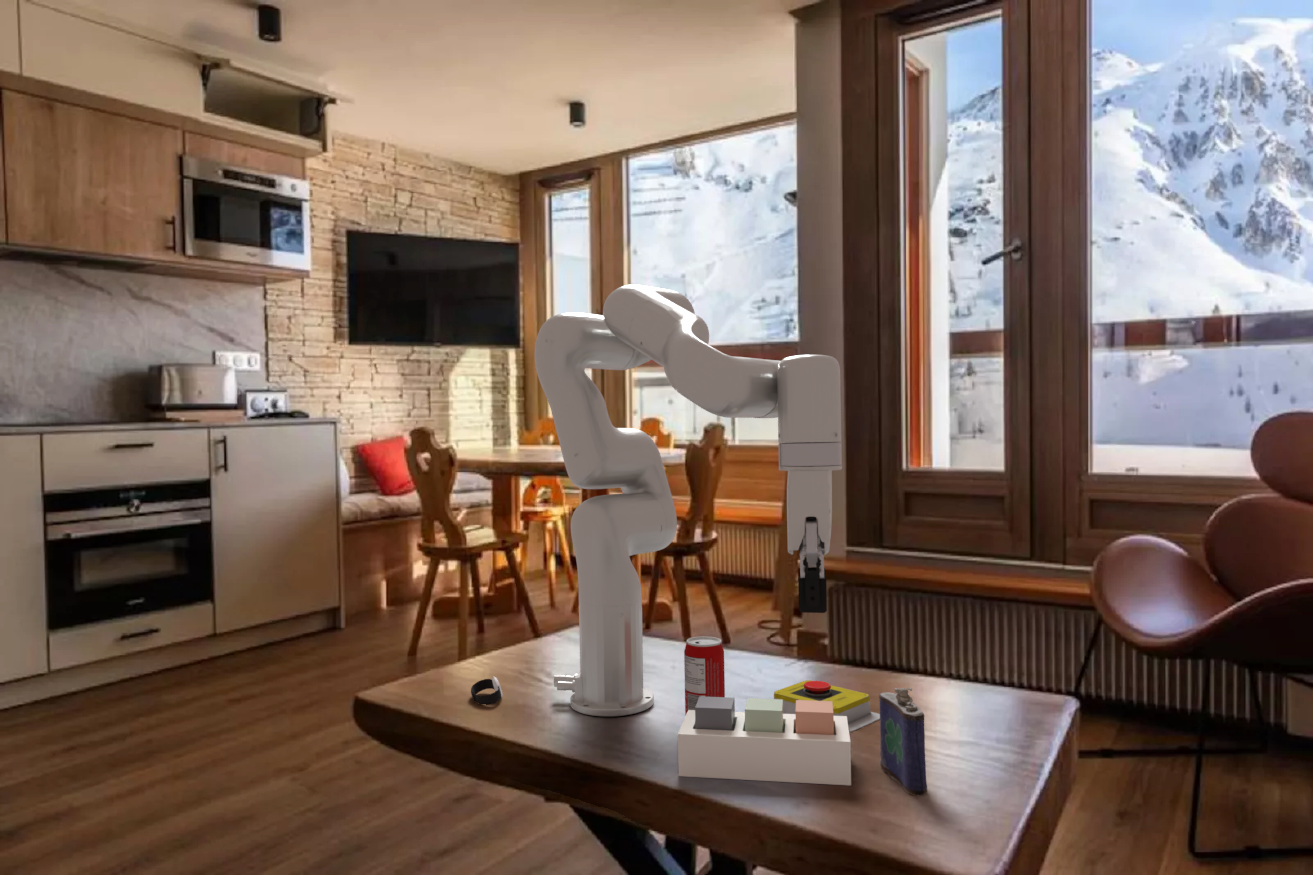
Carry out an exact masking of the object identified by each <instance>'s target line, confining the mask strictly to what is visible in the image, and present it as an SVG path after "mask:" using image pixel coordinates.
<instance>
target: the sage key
mask: <svg viewBox="0 0 1313 875" xmlns="http://www.w3.org/2000/svg"><path fill="white" fill-rule="evenodd" d="M744 712H745V731H753V732H776V733H783V699H774V698H753V697H751V698H750V697H747V699H746V703H745V707H744Z"/></svg>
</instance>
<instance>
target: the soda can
mask: <svg viewBox="0 0 1313 875" xmlns="http://www.w3.org/2000/svg"><path fill="white" fill-rule="evenodd" d="M683 652H684V654H683V655H684V656H683V657H684V658H683V659H684V660H683V662H684V707H685V708H684V709H685V710H684V713H685V716H686V714H687V712H688V710H695V706H696V704H697V702H698V699H699V697H700V696H702V697H726V690H725V689H726V688H725V686H726V685H725V680H726V678H725V651H724V647H723V643H722V639H721V638H719V637H714V636H694V637H688V638H687V639H686V644H685V646H684V651H683Z"/></svg>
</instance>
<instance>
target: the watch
mask: <svg viewBox="0 0 1313 875" xmlns="http://www.w3.org/2000/svg"><path fill="white" fill-rule="evenodd" d="M488 689H493V690H494V692H492V693H489V694H486V695H479V693H480V692H482V691H484V690H488ZM503 694H504V693H503V690H502V686H501V684H500V682H499V680H498V677H495V675H494V676H492V679H491V678H484V679H480V680H479V681H477V682H475V683H474V684H472V686H471V688H470V695H471V697H472V700H473V702H474V701H475V703H476V702H477V703H476V704H478V703H479V704H486V705H485V706H490V705H493V704H496V703H497V702H499V701H501V699H502V698H503ZM479 704H478V705H479Z"/></svg>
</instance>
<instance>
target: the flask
mask: <svg viewBox="0 0 1313 875" xmlns="http://www.w3.org/2000/svg"><path fill="white" fill-rule="evenodd" d="M909 691H910V692H912V691H913V688H911V687H906V688H904V687H900V688H897V687H894V692H895V693H894V692H892V691H891V692H889V691H888V692H881V693H879V695H878V697H879V698H878V700H879V714H880V720H879V721H880V722H879V724H880V727H879V729H880V731H879V732H880V740H879V741H880V752H879V754H880V761H879V762H880V763H879V764H880V767H881V769H882V771H883V772H886V773H887V774H888V775H889V777H890V778H891V780H894V781H895V782H897V785H899V786H902V789H903V790H904V791H905V792H906V793H907V794H909V795H913V796H915V797H916V796H924V795H927V794H928V785H927V771H926V770H927V769H926V766H927V764H926V750H925V749H926V745H925V744H926V742H925V740H926V738H925V736H926V734H925V714H924V712H923V711H922V710H921V708H920V707H919V706H918V705H917V704H915V703H914V701H913V697H912V696H910V694H909Z"/></svg>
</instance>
